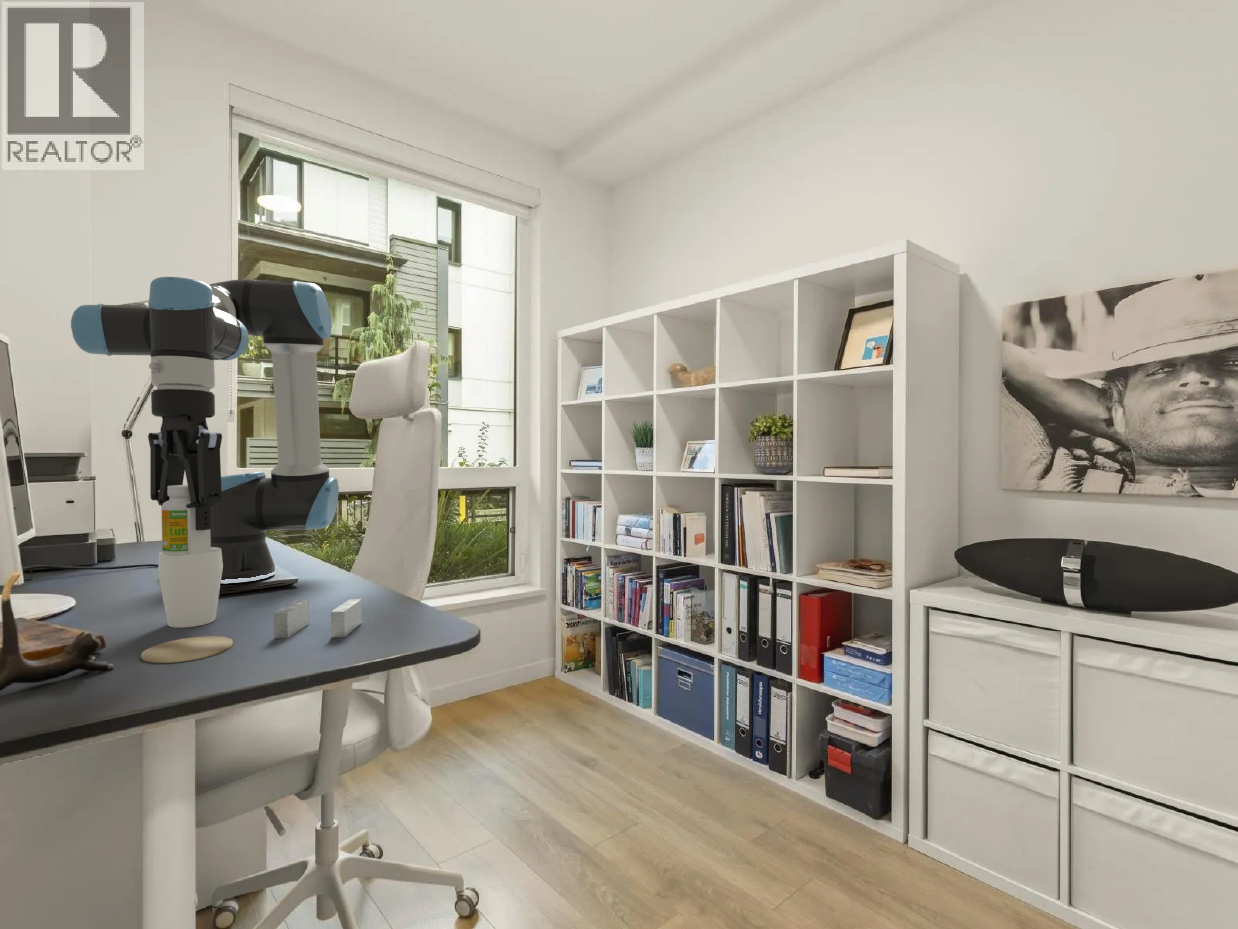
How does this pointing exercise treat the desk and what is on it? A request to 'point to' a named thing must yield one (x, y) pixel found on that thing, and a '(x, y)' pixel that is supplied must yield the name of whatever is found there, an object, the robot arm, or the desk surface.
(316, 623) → the desk surface
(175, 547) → the supplement bottle
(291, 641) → the desk surface
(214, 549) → the cup
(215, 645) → the coaster
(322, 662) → the desk surface
